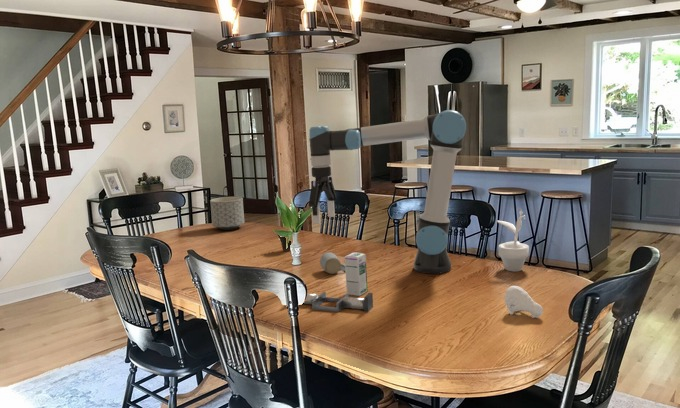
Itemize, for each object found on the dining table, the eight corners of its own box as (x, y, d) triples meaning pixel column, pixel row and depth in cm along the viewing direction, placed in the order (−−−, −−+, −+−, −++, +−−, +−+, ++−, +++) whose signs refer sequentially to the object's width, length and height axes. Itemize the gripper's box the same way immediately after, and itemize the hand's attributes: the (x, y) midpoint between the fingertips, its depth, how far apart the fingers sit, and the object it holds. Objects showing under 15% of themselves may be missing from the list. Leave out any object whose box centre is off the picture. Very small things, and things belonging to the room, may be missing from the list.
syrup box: (360, 296, 192) (358, 257, 190) (346, 294, 195) (344, 255, 193) (367, 291, 197) (366, 253, 194) (354, 289, 200) (352, 251, 197)
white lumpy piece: (513, 281, 172) (549, 293, 164) (511, 306, 174) (546, 318, 166) (503, 286, 168) (538, 298, 160) (500, 311, 170) (535, 324, 162)
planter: (207, 232, 316) (205, 202, 313) (220, 225, 334) (217, 196, 331) (238, 232, 313) (236, 201, 310) (249, 225, 331) (246, 196, 328)
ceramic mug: (325, 276, 218) (324, 257, 217) (319, 270, 226) (319, 253, 225) (349, 273, 222) (349, 255, 220) (343, 267, 229) (343, 250, 228)
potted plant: (533, 268, 215) (534, 207, 211) (521, 275, 207) (521, 211, 203) (504, 263, 224) (504, 204, 219) (490, 270, 215) (490, 209, 211)
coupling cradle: (375, 304, 183) (374, 290, 182) (365, 314, 174) (365, 300, 173) (299, 297, 193) (299, 284, 193) (287, 307, 185) (286, 293, 184)
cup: (298, 251, 258) (294, 231, 257) (280, 254, 258) (275, 234, 257) (299, 247, 267) (296, 228, 266) (282, 250, 267) (278, 231, 266)
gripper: (326, 163, 221) (329, 213, 224) (297, 170, 198) (301, 226, 202) (342, 162, 218) (345, 214, 221) (315, 169, 195) (318, 226, 199)
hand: (324, 220), depth 212 cm, fingers open, 13 cm apart
